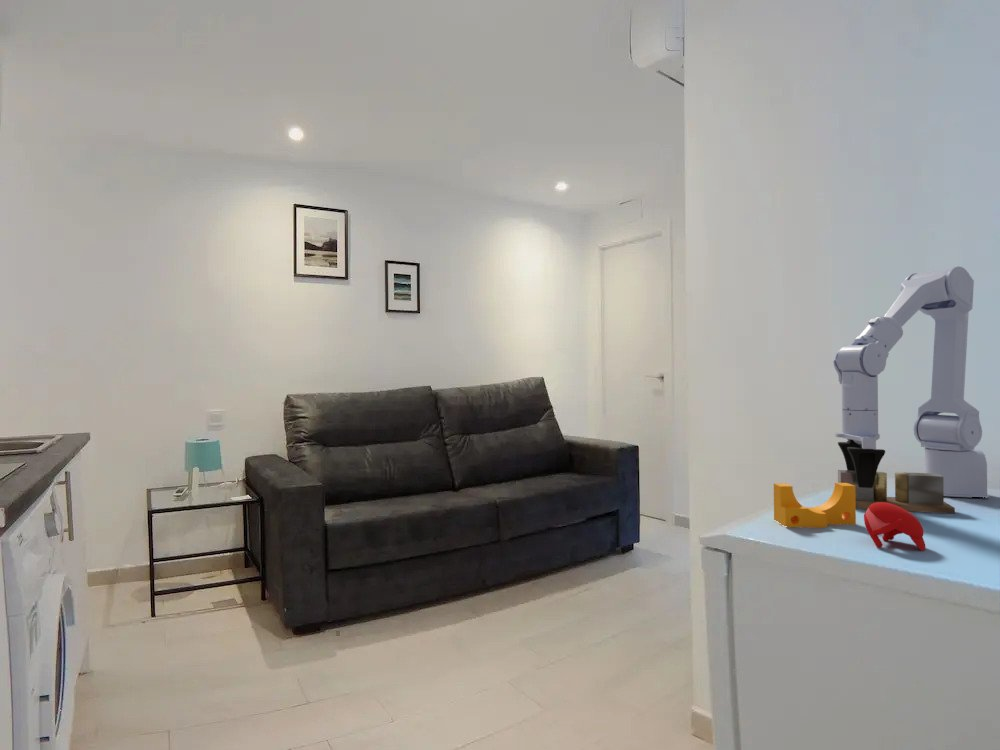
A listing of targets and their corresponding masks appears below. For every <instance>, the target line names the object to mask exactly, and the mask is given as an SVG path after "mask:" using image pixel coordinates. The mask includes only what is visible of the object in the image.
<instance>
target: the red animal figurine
mask: <svg viewBox="0 0 1000 750" xmlns="http://www.w3.org/2000/svg"><path fill="white" fill-rule="evenodd" d="M863 521H864V526H865V528H866V531H867V533H868V534H869V536H870V538H871V540H872V542H873V544H874V545H875V547H877V548H882V547H883V545H884V544H883V543H882V540H883V541H884V542H888V541H893V540H894V539H895V536H897V535H901V534H903V535H907V536H908V537H910V538H909V539H911V541H912V542H913V543H914V545H915V546H917V547H918V549H919V550H921V551H922V552H925V550H926V543H925V540H924V533H925V532H924V527H923V525H922V523H921V522H920V521H919V520H918V518H917V517H916V516H915V515H914V514H913V513H912V512H911V511H907V510H905V509H903V508H901V507H899V506H897V505H894V504H891V503H886V502H877V503H873V504H871V505H870V506H869V508H868V509H866V511H865V513H864V515H863ZM879 535H882V538H881V539H882V540H881V539H880V538H879Z"/></svg>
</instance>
